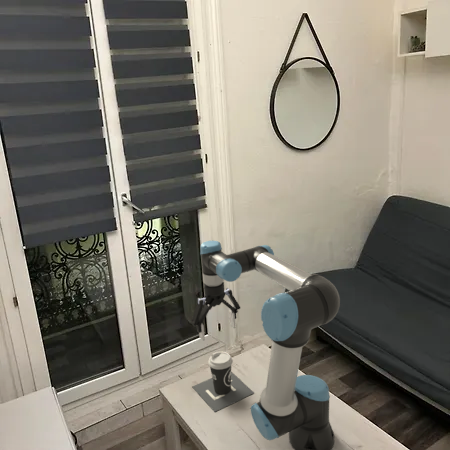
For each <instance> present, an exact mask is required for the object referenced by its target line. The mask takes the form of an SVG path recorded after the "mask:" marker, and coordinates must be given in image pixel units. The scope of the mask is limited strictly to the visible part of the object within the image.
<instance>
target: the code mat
mask: <svg viewBox="0 0 450 450" xmlns="http://www.w3.org/2000/svg"><path fill="white" fill-rule="evenodd" d="M192 389H193V391H195V392H196V393H197V395H198V396H199V397H200V398H201V399H202V400H203V401H204V402H205V403H206V404H207V405H208V406H209V408H211V410H212V411H213V412H214V413H216V412H218V411H220V410H222V409H225V408H227V407H229V406H231V405H233V404H235V403H237V402H240V401H241V400H244V399H246V398H248V397H249V396H251V395H254V394H255V392H254V391H253V390H252V389H251V388H250V387H249V386H248V385H246V384H245V383H244V382H243V381H242V380H241V379H240V378H239V377H238V376H237V375H236V374H235V373H233V372H232V371H231V390H230V392H229V393H227V394H225V395H219V394H217V393H216V392H215V390H214V385H213V379H212V377H211V378H208V379H206V380H204V381H202V382H199V383H197V384H194V385H193V386H192Z"/></svg>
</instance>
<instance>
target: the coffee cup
mask: <svg viewBox="0 0 450 450" xmlns="http://www.w3.org/2000/svg"><path fill="white" fill-rule="evenodd" d="M233 361H234V360H233V358H232V356H231V355H230V353H228V352H226V351H216V352H213V353H212V354H211V355H210V356H209V359H208V362H207V363H208V366H209V367H210V374H211V378H212V379H213V385H214V390H215V392H216V393H217V394H219V395H225V394H227V393H229V392H230V390H231V372H232V365H233V363H234V362H233Z"/></svg>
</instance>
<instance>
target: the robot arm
mask: <svg viewBox="0 0 450 450" xmlns="http://www.w3.org/2000/svg"><path fill="white" fill-rule="evenodd" d="M222 250H223V248H222V244H221V243H220V241H217V240H206V241H203V242H202V243H201V244H200V254H199V255H200V259H201V269H202V282H203V293H204V297H203V298H202V297H197V299H196V306H195V307H194V308H195V309H194V312H193V314H192V318H191V320H190V323H191V324H192V325H194V326H196V331H197V332H198V334H199V339H200V340H202V341H205V339H206V336H205V327H204V324H203V322H204V321H205V319H206V317H207V315H208V314H209V311H211V310H212V309H213V308H215V307H216V306H220V305H221V304H223V305H224V306H225V307H227V308H228V309H229V310H228V313H229V314H228V315H229V317H228V318H229V326H230V327H231V328H232V329H236V320H237V313H238V312H239V311H238V310H240V309H241V306H240V304H239V303H238V301H237V299H236V298H235V296H234V294H233V291H232V289H230V288H229V287H226V288H225V282H224V281H226V282H230V283H231V282H235V281H237V280H238V279H239V278H241V275H242V274H244V273H248V272H251V271H256V272H258V273H260V274H262V275H264V276H265V277H267V278H268V279H270V280H271V281H273V282H275V283H277V284H278V285H279V286H281V287H283V288H284V289H286V290H288V291H286V292H280V293H277V294H275V295H273V296H271V297H269V298H267V299H266V300H265V301H264V303H263V305H262V307H261V312H260V313H261V314H260V318H261V321H262V325H261V326H262V328H263V331H264V332H265V334H266V336H267V337H268V338H269V339H270V340H271V347H270V348H271V349H270V355H269V356H270V357H269V363H268V370H267V371H268V373H267V379H266V385H265V386H266V387H265V388H263V389H262V390H261V392H260V395H259V396H260V397H259V402H254V404H252V405H251V406H250V415H251V417H252V420H253V423H254V426H255V427H256V429H257V430H258V432H259V434H260V435H261V436H262V437H263V439H265V440H268V441H272V440H275V439H279V438H280V437H282V436H285V435H286V434H288V440H289V443H290V445H291V447H292V448H293V449H294V450H332V449H333V447H334V445H335V434H334V430H333V428H332V425H331V423H330V397H331V396H330V388H329V386H328V384H327V383H326V381H325V380H323V379H322V378H320V377H319V376H315V375H310V374H302V375H299V369H300V368H299V367H300V362H301V357H302V353H303V352H302V351H303V347H305V346H306V345H307V344H308V342H309V341H310V338H311V332H312V330H313V329H315V328H318V327H320V326H321V327H322V326H323V325H326V324H328V323H330V322H331V321H332V320H334V319H335V317H336V316H337V314H338V312H339V310H340V305H341V304H340V303H341V298H340V293H339V291H338V289H337V288H336V286H335V284H334V283H332V282H331V281H330V280H329V279H327V278H326V277H325V276H322V275H320V274H318V273H317V274H316V273H314V274H311V273H309V272H307V271H305V270H303V269H301V268H299V267H297V266H295V265H294V264H291V263H289V262H288V261H286V260H283V259H282V258H279V257H278V256H276V255H275V252H274V251H273V249H272V247H271V246H269V244H268V245H267V244H264V245H258V246H255V247H254V246H253V247H251V248H248V249H244V250H240V251H237V252H234V253H233V252H232V253H229V254H226V253H224V252H223V251H222ZM225 296H227V297H228V299H229V301H230V302H231V303H232V304H231V303H229V302H227V300H225V299H224V298H225ZM298 375H299V376H298Z"/></svg>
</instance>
